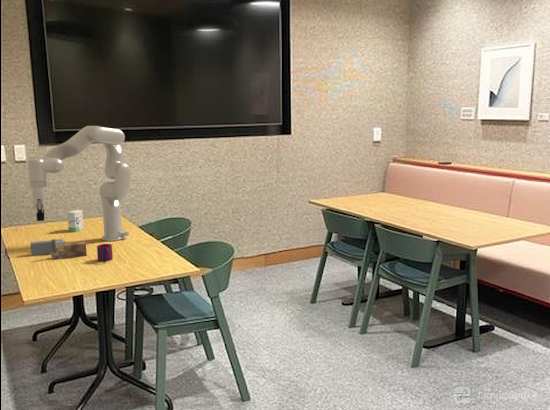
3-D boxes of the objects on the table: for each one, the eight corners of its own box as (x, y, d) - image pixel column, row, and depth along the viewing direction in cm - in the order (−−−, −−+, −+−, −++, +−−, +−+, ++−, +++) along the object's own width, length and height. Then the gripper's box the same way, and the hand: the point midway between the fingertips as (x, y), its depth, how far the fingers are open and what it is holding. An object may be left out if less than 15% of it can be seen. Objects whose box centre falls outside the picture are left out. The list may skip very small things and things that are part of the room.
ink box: (76, 228, 316) (74, 209, 314) (84, 229, 315) (82, 209, 313) (68, 231, 308) (66, 212, 306) (76, 232, 306) (74, 212, 304)
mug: (111, 257, 251) (110, 243, 250) (114, 262, 242) (113, 247, 241) (97, 258, 248) (96, 244, 247) (99, 264, 239) (98, 249, 238)
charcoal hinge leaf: (31, 256, 254) (30, 244, 253) (31, 253, 259) (30, 241, 258) (65, 252, 260) (64, 241, 259) (65, 250, 265) (64, 238, 264)
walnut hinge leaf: (86, 253, 258) (84, 235, 256) (86, 255, 254) (85, 237, 252) (51, 257, 251) (49, 239, 250) (51, 259, 248) (49, 240, 246)
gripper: (30, 182, 259) (32, 216, 262) (29, 186, 244) (31, 222, 246) (46, 182, 262) (49, 215, 265) (46, 185, 247) (49, 221, 249)
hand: (40, 219), depth 256 cm, fingers open, 9 cm apart
